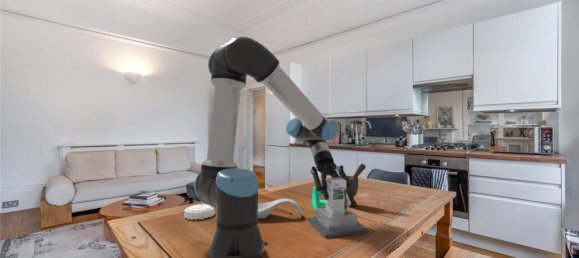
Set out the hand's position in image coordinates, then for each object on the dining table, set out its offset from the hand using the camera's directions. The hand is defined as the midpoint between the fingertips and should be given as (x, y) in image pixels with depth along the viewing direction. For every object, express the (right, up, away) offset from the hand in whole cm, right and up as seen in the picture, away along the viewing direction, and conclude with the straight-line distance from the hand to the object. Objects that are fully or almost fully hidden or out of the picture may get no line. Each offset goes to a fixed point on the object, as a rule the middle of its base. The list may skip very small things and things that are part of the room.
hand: (340, 206), depth 90 cm
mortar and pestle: (+12, -9, +31) cm, 35 cm away
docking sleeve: (-1, -8, +3) cm, 9 cm away
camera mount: (-3, -9, +25) cm, 27 cm away
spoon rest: (-25, -9, +15) cm, 31 cm away
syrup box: (-1, -6, +3) cm, 7 cm away
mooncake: (-56, -9, +17) cm, 59 cm away
